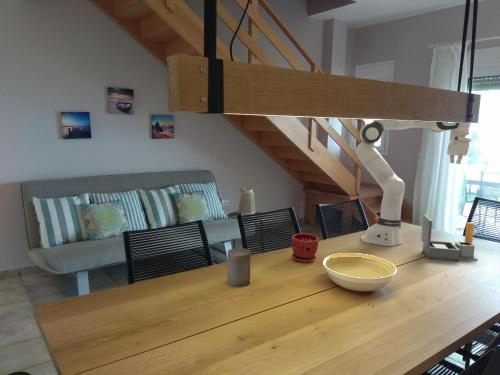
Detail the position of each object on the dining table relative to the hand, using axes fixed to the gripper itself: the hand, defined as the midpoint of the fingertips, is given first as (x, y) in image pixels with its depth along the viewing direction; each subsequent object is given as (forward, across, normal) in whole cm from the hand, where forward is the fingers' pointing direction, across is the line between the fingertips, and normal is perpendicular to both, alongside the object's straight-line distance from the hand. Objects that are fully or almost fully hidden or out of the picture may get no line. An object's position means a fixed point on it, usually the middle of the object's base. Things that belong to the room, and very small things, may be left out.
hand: (454, 163), depth 211 cm
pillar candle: (+58, +73, -103) cm, 139 cm away
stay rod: (+47, +6, +11) cm, 49 cm away
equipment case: (+49, +17, -6) cm, 52 cm away
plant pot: (+55, +38, -76) cm, 101 cm away
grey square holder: (+48, +16, +6) cm, 51 cm away
